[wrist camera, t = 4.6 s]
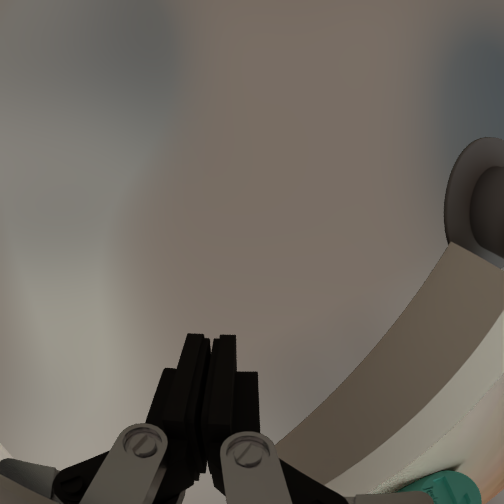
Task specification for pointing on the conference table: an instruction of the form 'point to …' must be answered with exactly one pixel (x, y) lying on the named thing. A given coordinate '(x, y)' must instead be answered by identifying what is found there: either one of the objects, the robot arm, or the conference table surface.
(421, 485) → the decorative dice
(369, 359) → the leg
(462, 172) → the brown and grey piece
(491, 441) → the conference table surface
